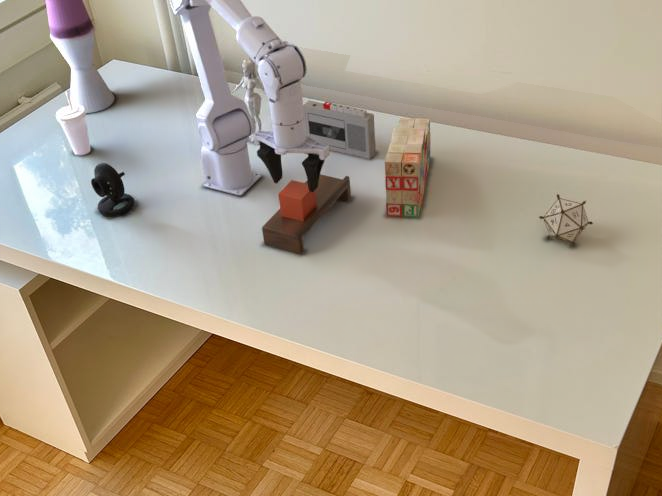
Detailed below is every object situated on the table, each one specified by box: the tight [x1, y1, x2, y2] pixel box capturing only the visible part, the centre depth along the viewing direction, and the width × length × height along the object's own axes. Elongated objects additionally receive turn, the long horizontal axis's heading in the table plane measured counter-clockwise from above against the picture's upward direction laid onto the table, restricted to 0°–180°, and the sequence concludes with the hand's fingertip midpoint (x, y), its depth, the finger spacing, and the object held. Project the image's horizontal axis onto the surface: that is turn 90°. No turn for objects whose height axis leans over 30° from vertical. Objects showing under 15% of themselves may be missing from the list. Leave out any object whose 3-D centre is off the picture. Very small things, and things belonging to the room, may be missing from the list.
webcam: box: [90, 162, 135, 218], centre depth 175 cm, size 8×8×10 cm
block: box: [277, 179, 317, 222], centre depth 163 cm, size 5×5×5 cm
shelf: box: [261, 173, 352, 255], centre depth 168 cm, size 8×20×5 cm, turn 151°
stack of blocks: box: [384, 117, 431, 219], centre depth 171 cm, size 21×6×12 cm, turn 168°
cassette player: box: [303, 100, 377, 160], centre depth 184 cm, size 16×3×10 cm, turn 59°
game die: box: [538, 193, 594, 247], centre depth 156 cm, size 9×8×10 cm
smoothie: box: [55, 90, 92, 156], centre depth 191 cm, size 6×6×14 cm
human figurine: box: [230, 58, 266, 143], centre depth 187 cm, size 12×4×18 cm, turn 60°
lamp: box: [45, 0, 115, 114], centre depth 199 cm, size 11×11×40 cm
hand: (295, 184), depth 161 cm, fingers open, 7 cm apart
